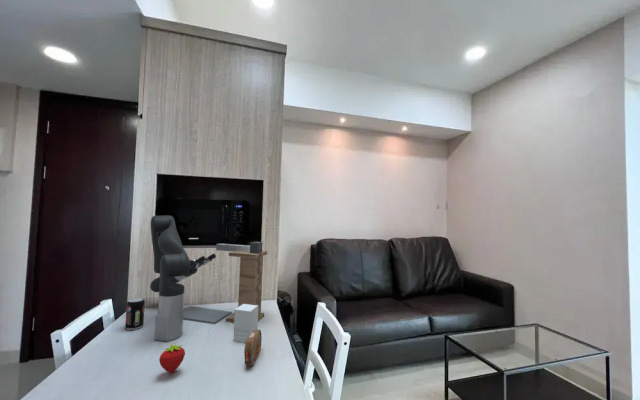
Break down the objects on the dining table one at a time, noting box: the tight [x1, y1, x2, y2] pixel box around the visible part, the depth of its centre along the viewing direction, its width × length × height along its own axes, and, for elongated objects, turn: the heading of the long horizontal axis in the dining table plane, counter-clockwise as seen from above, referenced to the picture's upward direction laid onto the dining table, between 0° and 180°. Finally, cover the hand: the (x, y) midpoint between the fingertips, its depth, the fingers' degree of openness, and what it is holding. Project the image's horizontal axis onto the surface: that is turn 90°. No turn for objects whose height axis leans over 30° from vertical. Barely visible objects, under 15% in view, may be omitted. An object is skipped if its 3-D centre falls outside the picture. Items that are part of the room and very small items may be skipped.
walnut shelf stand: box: [225, 250, 268, 324], centre depth 134 cm, size 12×14×32 cm
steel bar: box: [215, 241, 263, 254], centre depth 136 cm, size 5×23×5 cm, turn 76°
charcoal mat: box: [183, 305, 233, 325], centre depth 136 cm, size 14×24×1 cm, turn 76°
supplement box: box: [233, 304, 259, 343], centre depth 114 cm, size 7×7×13 cm
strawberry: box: [158, 340, 186, 375], centre depth 88 cm, size 6×8×10 cm
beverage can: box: [124, 297, 146, 331], centre depth 120 cm, size 7×7×12 cm
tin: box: [243, 329, 263, 366], centre depth 99 cm, size 15×3×8 cm, turn 179°
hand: (210, 256), depth 140 cm, fingers open, 8 cm apart
